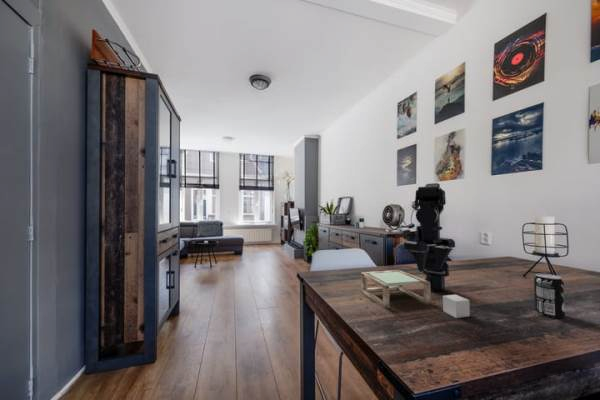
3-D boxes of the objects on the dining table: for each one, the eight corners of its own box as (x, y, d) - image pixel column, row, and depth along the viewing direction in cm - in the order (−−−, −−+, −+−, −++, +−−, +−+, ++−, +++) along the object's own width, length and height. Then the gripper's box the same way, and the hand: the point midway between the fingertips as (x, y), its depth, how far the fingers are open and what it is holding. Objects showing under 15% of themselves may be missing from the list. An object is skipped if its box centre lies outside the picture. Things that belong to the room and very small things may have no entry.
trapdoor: (398, 274, 99) (397, 271, 99) (420, 283, 87) (420, 280, 87) (368, 276, 96) (368, 273, 96) (387, 286, 84) (387, 283, 84)
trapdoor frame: (400, 287, 102) (399, 269, 102) (431, 304, 85) (430, 282, 85) (360, 291, 98) (360, 272, 98) (385, 308, 81) (384, 285, 81)
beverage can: (556, 311, 78) (554, 273, 79) (570, 320, 72) (569, 279, 73) (530, 308, 81) (529, 272, 81) (542, 317, 74) (541, 277, 75)
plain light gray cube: (456, 309, 80) (455, 294, 80) (469, 316, 75) (469, 300, 75) (443, 311, 79) (442, 295, 79) (456, 318, 74) (455, 301, 74)
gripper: (426, 221, 94) (426, 262, 93) (390, 222, 85) (391, 267, 85) (455, 223, 84) (456, 268, 83) (418, 224, 75) (419, 275, 75)
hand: (430, 269), depth 82 cm, fingers open, 9 cm apart
